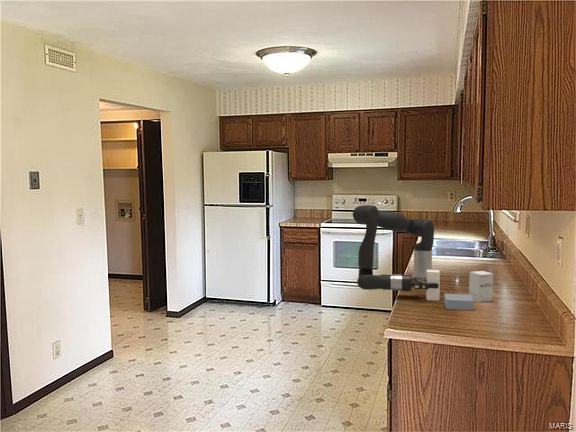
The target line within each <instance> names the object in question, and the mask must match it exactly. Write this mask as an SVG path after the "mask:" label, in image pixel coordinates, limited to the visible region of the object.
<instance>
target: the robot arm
mask: <svg viewBox="0 0 576 432" xmlns="http://www.w3.org/2000/svg"><path fill="white" fill-rule="evenodd" d="M352 217H353V220H354V221H355V222H356V223H357V224H359V225H365V233H364V234H365V235H364V237H363V239H362V242H361V244H360V245H359V247H358V259H357V260H358V261H357V263H358V264H357V265H358V278H357V281H356V283H357V287H359V288H360V289H362V290H368V291H369V290H370V291H371V290H384V291H385V290H387V291H397V292H399V291H400V292H402V291H403V292H411V291H412V288H414V290H424V291H426V290H428V289H430V288H438V283H426V273H427V270H433V269H432V268H433V246H434V239H435V238H434V237H435V224H434V222H433V221H432V220H430V219H421V218H420V219H419V218H407V217H406V215H403V214H402V213H398V212H395V211H388V210H387V211H385V210H383V211H382V210H379V209H378V207H377V206H376V205H373V204H369V205H368V204H366V205H365V204H362V205H358V206H356V207H355V208H354V209H353V211H352ZM378 228H380V229H384V230H388V231H392V232H397V233H403V232H404V233H407V234H410V235H412V236H414V237H418V238H419V237H420V238H421V239H420V241H419V242H417V243H415V244H414V245H413V279H412V274H396V273H395V274H379V275H377V274H374V271H373V270H374V268H373V266H374V250H375V249H374V248H375V242H376V237H377V231H378Z"/></svg>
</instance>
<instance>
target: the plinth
mask: <svg viewBox="0 0 576 432" xmlns="http://www.w3.org/2000/svg"><path fill="white" fill-rule="evenodd" d="M443 303H444V306H445V309H446V310H457V311H458V310H459V311H475V301H474V300H473V299H472V297H471V295H469V294H464V293H463V294H461V293H444V294H443Z"/></svg>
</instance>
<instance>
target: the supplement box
mask: <svg viewBox="0 0 576 432" xmlns="http://www.w3.org/2000/svg"><path fill="white" fill-rule="evenodd" d="M468 279H469V283H468V287H469V288H468V295H471V297H472V299H473V300H474V302H477V303H481V302H483V303H484V302H493V289H494V287H493V286H494V285H493V284H494V273H491V272H489V271H485V270H478V271H477V270H476V271H469V278H468Z"/></svg>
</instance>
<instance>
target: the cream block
mask: <svg viewBox="0 0 576 432" xmlns="http://www.w3.org/2000/svg"><path fill="white" fill-rule="evenodd" d="M440 275H441V271H440V270H439V269H432V270H427V273H426V283H438V288H430V289H428V290H425V292H426V293H425V298H426V301H440V290H441V289H440V285H441V282H440V281H441V280H440V279H441V276H440Z"/></svg>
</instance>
